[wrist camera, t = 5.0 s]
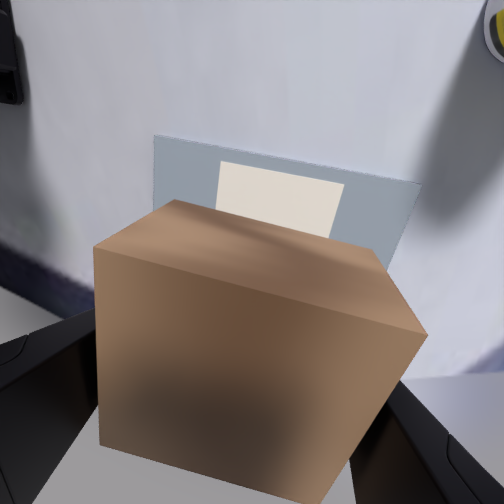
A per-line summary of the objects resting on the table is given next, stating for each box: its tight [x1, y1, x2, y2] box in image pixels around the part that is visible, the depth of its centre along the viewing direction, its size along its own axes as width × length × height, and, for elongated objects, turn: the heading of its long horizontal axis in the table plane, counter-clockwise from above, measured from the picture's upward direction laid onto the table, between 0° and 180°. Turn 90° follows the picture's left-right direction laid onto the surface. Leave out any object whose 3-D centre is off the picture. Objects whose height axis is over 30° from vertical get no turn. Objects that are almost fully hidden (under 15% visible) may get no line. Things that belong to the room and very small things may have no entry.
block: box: [93, 199, 428, 504], centre depth 8 cm, size 6×6×4 cm
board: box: [153, 135, 423, 271], centre depth 18 cm, size 16×9×1 cm, turn 81°
